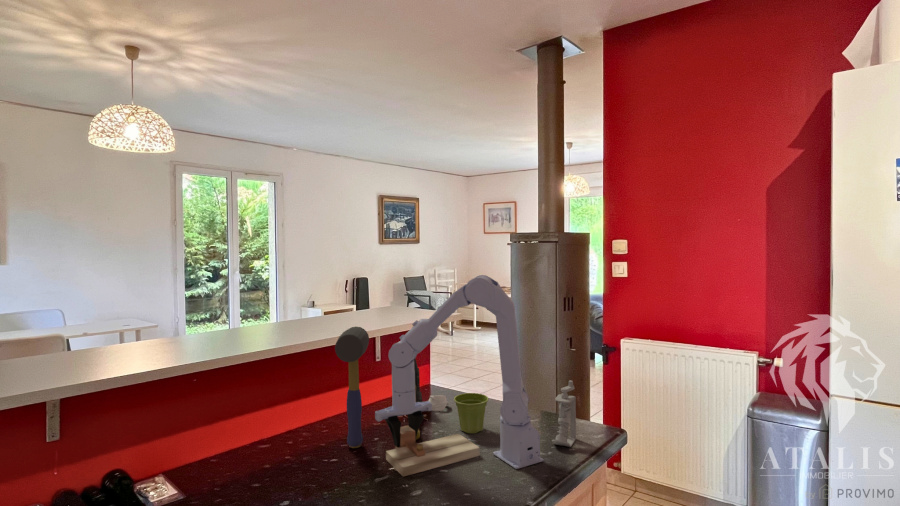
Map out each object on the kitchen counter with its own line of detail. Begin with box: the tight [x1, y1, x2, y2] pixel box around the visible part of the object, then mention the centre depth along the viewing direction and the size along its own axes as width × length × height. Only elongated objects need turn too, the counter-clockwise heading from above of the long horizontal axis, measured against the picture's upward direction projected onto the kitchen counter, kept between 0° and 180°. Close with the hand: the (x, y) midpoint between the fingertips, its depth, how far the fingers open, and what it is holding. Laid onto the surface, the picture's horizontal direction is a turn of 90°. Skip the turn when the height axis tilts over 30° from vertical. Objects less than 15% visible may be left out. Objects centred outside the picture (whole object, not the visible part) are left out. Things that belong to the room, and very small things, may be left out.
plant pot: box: [453, 392, 489, 434], centre depth 133 cm, size 9×9×9 cm
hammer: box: [414, 358, 423, 440], centre depth 141 cm, size 6×16×30 cm
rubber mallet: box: [334, 326, 370, 449], centre depth 123 cm, size 12×8×30 cm, turn 2°
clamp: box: [551, 379, 577, 448], centre depth 123 cm, size 4×10×15 cm, turn 152°
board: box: [385, 433, 481, 477], centre depth 116 cm, size 10×20×2 cm, turn 119°
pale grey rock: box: [427, 394, 451, 412], centre depth 151 cm, size 8×7×5 cm
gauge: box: [394, 425, 425, 457], centre depth 117 cm, size 11×4×5 cm, turn 29°
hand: (404, 443), depth 121 cm, fingers closed on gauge, 3 cm apart
